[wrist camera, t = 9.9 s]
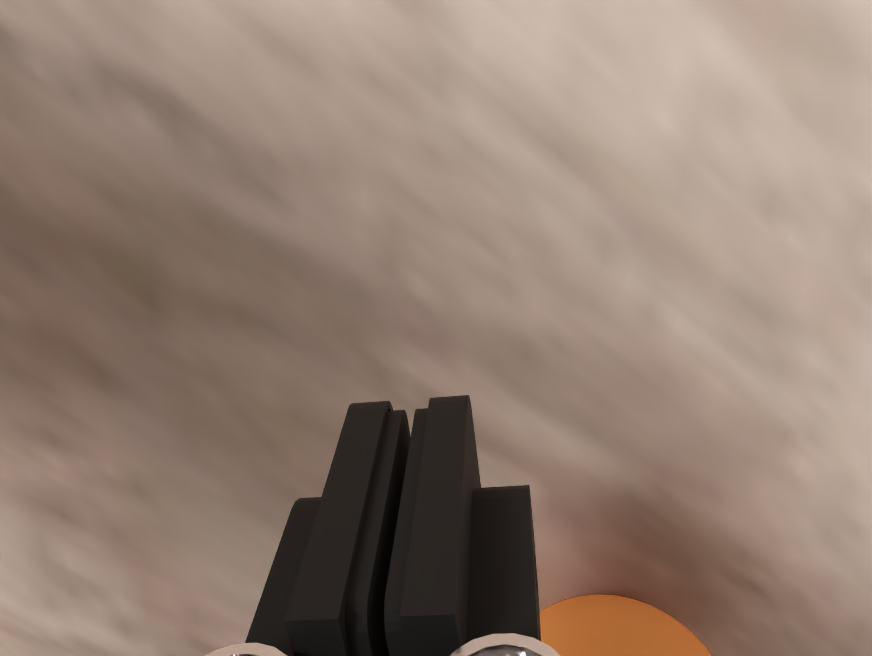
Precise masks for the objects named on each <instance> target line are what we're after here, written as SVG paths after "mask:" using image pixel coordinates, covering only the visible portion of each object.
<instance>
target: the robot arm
mask: <svg viewBox="0 0 872 656" xmlns="http://www.w3.org/2000/svg"><path fill="white" fill-rule="evenodd" d="M205 656H560V655H559V654H558V653H557V652H556V651H555V650H554V649H553V648H552V647H550V646H549V645H547V644H545V643H543V642H541V629H540V613H539V598H538V583H537V569H536V556H535V544H534V532H533V520H532V509H531V497H530V487H529V485H524V486H507V487H489V488H481V484H480V475H479V467H478V459H477V451H476V442H475V434H474V426H473V417H472V409H471V402H470V397H469V395H465V396H451V397H437V398H430V400H429V406H428V408H425V409H416V410H415V415H414V421H413V427H412V433H411V437H410V431H409V424H408V419H407V414H406V411H405V410H397V411H393V408H392V405H391V403H390V401H380V402H366V403H352V404H350V406H349V408H348V411H347V415H346V418H345V421H344V425H343V428H342V431H341V434H340V438H339V441H338V444H337V448H336V451H335V454H334V458H333V461H332V464H331V468H330V471H329V474H328V478H327V481H326V484H325V487H324V491H323V494H322V497H315V498H299V499H298V500H297V501H295V503H294V505H293V507H292V509H291V512H290V515H289V518H288V521H287V524H286V527H285V529H284V532H283V535H282V538H281V541H280V544H279V547H278V550H277V552H276V555H275V558H274V561H273V564H272V567H271V570H270V573H269V575H268V578H267V581H266V584H265V587H264V590H263V593H262V596H261V599H260V601H259V604H258V607H257V610H256V613H255V616H254V619H253V622H252V624H251V627H250V630H249V633H248V636H247V639H246V642H245V643H237V644H234V645H230V646H227V647H223V648H220V649H217V650H215V651H213V652H211V653H209V654H207V655H205Z"/></svg>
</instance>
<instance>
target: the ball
mask: <svg viewBox="0 0 872 656" xmlns="http://www.w3.org/2000/svg"><path fill="white" fill-rule="evenodd" d="M539 613H540V629H541V642H543V643H545V644H547V645H549V646H550V647H552V648H553V649H554V650H555V651H556V652H557V653H558V654H559V655H560V656H712V655H711V653H710V652H709V651H708V649H707V648H706V647H705V646H704V645H703V643H702V642H701V641H700V640H699V639H698V638H697V637H696V636H695V635H694V634H693V633H692V632H691V631H690V630H688V629H687V628H686V627H685V626H684V625H683V624H681V623H680V622H679V621H677V620H676V619H674V618H673V617H671V616H670V615H668V614H667V613H665V612H663V611H661V610H659V609H657V608H655V607H653V606H651V605H649V604H646V603H643V602H640V601H637V600H635V599H631V598H626V597H622V596H616V595H602V594H597V595H584V596H578V597H573V598H569V599H566V600H563V601H560V602H557V603H555V604H553V605H551V606H549V607H547V608H545V609H543V610H541V611H540V612H539Z"/></svg>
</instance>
